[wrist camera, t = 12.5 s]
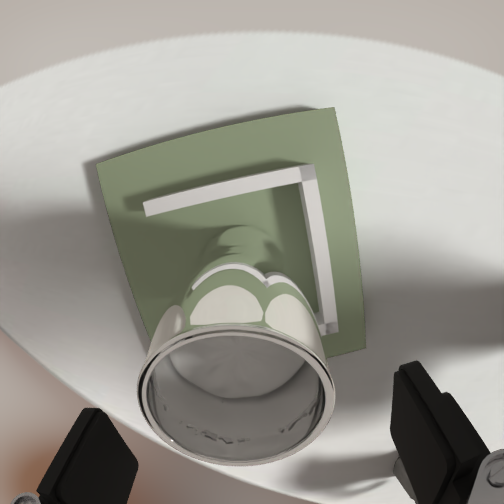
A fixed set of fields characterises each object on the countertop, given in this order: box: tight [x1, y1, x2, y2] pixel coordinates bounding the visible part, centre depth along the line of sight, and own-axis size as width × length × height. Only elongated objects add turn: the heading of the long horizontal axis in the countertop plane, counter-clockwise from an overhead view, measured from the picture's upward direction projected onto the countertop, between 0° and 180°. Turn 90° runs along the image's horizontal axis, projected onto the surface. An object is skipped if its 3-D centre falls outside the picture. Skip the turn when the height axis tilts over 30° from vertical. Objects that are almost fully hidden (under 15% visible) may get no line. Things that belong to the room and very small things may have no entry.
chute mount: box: [96, 107, 366, 358], centre depth 24 cm, size 18×20×4 cm
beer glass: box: [137, 226, 335, 466], centre depth 17 cm, size 7×7×15 cm
